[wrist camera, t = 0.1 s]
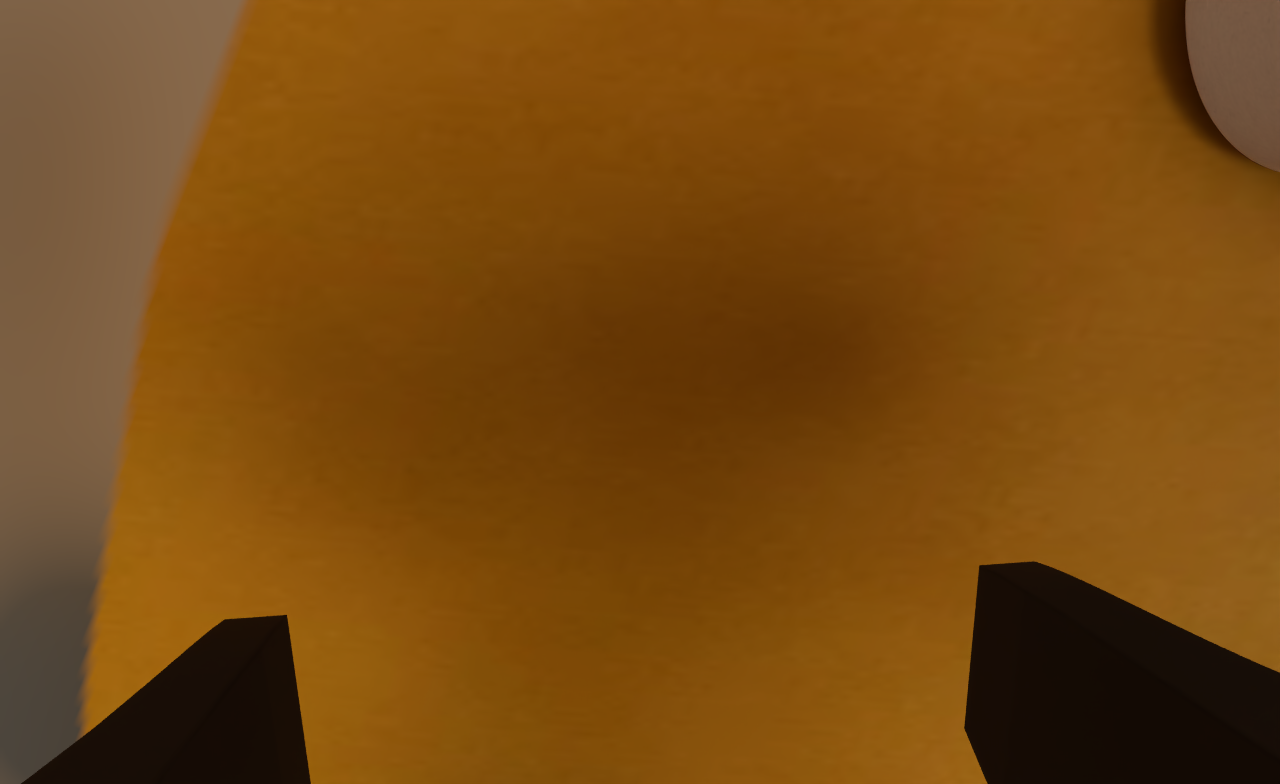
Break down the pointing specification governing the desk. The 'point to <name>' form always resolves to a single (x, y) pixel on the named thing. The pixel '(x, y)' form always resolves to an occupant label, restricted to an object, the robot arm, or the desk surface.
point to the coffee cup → (1239, 71)
